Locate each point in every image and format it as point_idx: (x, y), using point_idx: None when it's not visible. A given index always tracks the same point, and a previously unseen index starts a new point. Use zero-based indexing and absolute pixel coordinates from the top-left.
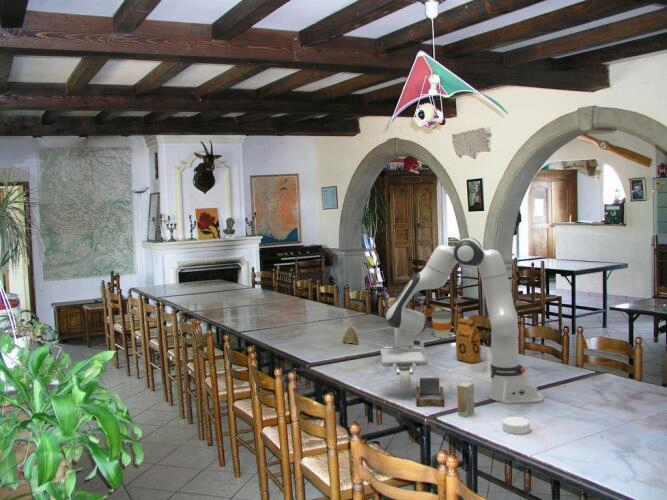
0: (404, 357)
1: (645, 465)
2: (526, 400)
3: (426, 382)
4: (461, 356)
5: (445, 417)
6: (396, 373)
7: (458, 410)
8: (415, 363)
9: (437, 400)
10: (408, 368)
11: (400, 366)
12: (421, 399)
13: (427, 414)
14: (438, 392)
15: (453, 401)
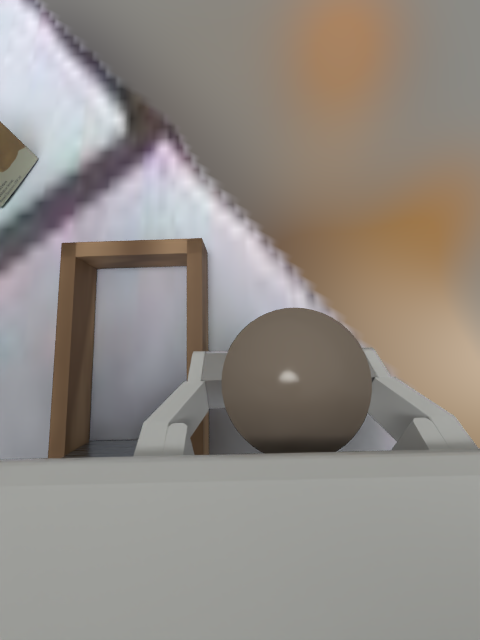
0: (337, 581)
1: None
2: None
3: None
4: None
5: (91, 128)
6: (363, 350)
7: (20, 142)
8: (134, 455)
9: (97, 244)
10: (239, 335)
11: (350, 394)
12: (175, 239)
13: (161, 156)
14: (90, 443)
15: (36, 333)
